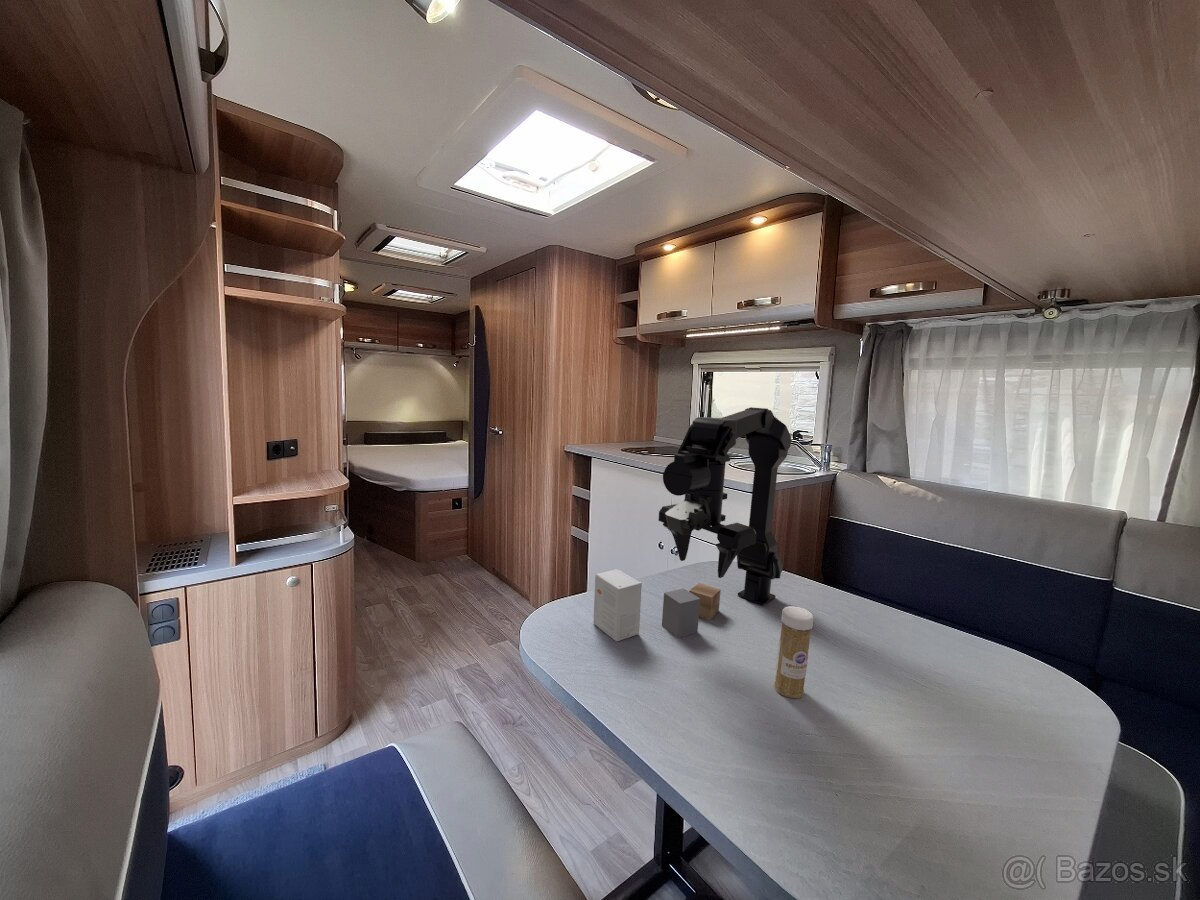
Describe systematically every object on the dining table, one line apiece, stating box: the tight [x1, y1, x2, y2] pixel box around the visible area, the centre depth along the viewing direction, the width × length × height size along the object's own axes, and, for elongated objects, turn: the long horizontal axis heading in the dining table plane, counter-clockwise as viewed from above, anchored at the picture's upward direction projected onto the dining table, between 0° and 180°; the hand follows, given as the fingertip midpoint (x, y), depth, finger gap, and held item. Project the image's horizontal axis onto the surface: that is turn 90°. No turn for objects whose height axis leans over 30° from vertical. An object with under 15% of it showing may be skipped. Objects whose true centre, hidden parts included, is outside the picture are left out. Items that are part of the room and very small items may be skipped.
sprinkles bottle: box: [773, 606, 814, 699], centre depth 75 cm, size 5×5×14 cm
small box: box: [592, 569, 643, 643], centre depth 91 cm, size 8×6×10 cm
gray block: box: [661, 587, 700, 638], centre depth 93 cm, size 5×5×7 cm
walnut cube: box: [688, 582, 722, 621], centre depth 101 cm, size 5×5×5 cm
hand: (700, 568), depth 88 cm, fingers open, 9 cm apart
